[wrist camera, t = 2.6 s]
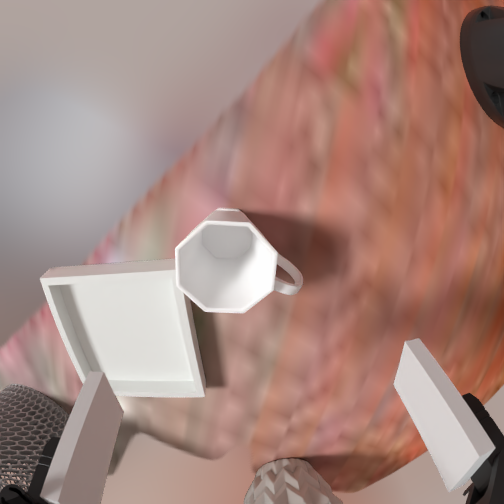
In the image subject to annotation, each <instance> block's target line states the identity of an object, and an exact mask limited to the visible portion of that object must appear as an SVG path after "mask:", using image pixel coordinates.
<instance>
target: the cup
mask: <svg viewBox="0 0 504 504" xmlns="http://www.w3.org/2000/svg"><path fill="white" fill-rule="evenodd" d="M175 263H176V286H177V287H178V288H179V289H180V290H181V291H182V292H183V293H184V294H185V295H186V296H188V297H189V298H190V299H191V300H192V301H193V302H194V303H195V304H196V305H198V306H199V307H200V308H201V309H202V310H203V311H204V312H221V313H245V312H246V311H247V310H249V309H250V308H251V307H253V306H254V305H255V304H256V303H258V302H259V301H260V300H262V299H263V298H264V297H266V296H267V295H268V294H269V293H271V292H272V291H273V290H275V291H278V292H281V293H283V294H288V295H293V294H296V293H298V292H299V290H300V288H301V287H302V285H303V277H302V274H301V272H300V271H299V270H298V269H297V267H296V266H294V265H293V264H292V263H291V262H290V261H288V260H287V259H286V258H284V257H283V256H281V255H280V254H279V253H278V252H277V251H276V250H275V249H274V247H273V246H272V245H271V244H270V243H269V242H268V240H267V239H266V238H265V236H264V235H263V234H262V233H261V232H260V230H259V229H258V228H257V227H256V226H255V225H254V224H253V223H252V222H251V221H250V220H249V219H248V217H247V216H246V215H245V214H244V213H243V212H241V211H240V210H239V209H234V208H218V209H217V210H216V211H213V212H212V213H211V214H210V215H209V216H208V217H207V218H205V219H204V220H203V221H202V222H201V223H200V224H199V225H198V226H197V227H196V228H194V229H193V230H192V232H191V233H190V234H189V235H188V236H187V237H186V238H185V239H184V240H183V241H182V242H181V243H180V244H179V245H178V246H177V247H176V248H175ZM277 264H278V265H279V266H280V267H282V268H283V269H284V270H285V271H287V272H288V273H289V274H290V275H291V277H292V278H293V279H294V281H295V284H291V283H287V282H285V281H283V280H281V279H279V278H277V277H275V275H276V266H277Z"/></svg>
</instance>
